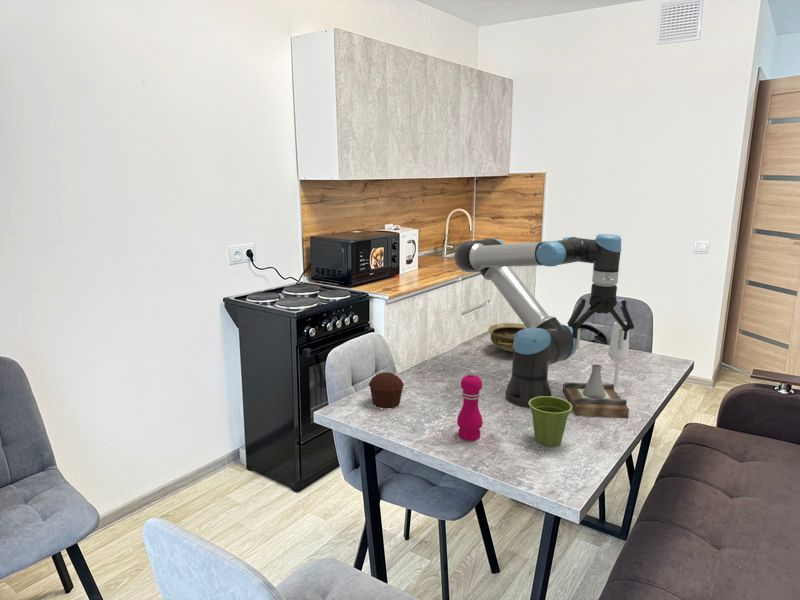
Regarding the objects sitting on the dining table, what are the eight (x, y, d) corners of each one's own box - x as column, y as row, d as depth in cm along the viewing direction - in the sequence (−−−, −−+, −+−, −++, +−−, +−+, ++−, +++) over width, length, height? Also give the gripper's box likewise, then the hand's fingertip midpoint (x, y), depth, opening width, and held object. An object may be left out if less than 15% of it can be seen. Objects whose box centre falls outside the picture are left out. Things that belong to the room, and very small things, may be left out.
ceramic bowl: (528, 368, 217) (530, 343, 215) (474, 356, 231) (475, 333, 229) (556, 349, 241) (557, 327, 239) (505, 339, 255) (506, 318, 253)
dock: (575, 415, 175) (576, 402, 174) (562, 391, 194) (563, 379, 193) (628, 418, 174) (629, 404, 173) (609, 393, 193) (610, 381, 192)
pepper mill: (451, 435, 161) (453, 369, 156) (467, 428, 166) (469, 364, 161) (471, 444, 156) (474, 376, 151) (486, 436, 161) (490, 370, 156)
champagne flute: (606, 384, 201) (612, 320, 196) (626, 388, 198) (633, 322, 193) (603, 390, 196) (609, 324, 190) (623, 394, 193) (630, 327, 187)
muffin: (411, 404, 182) (411, 375, 180) (385, 413, 175) (385, 383, 173) (386, 393, 191) (386, 365, 189) (361, 402, 184) (361, 373, 181)
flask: (580, 396, 182) (583, 367, 180) (584, 388, 188) (586, 360, 186) (604, 400, 179) (607, 370, 177) (607, 392, 185) (609, 364, 183)
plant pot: (544, 428, 166) (547, 392, 164) (578, 443, 157) (581, 406, 155) (517, 438, 159) (519, 401, 157) (550, 455, 150) (553, 416, 148)
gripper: (566, 285, 172) (561, 350, 177) (649, 287, 171) (641, 353, 176) (561, 280, 180) (556, 343, 185) (641, 282, 178) (633, 346, 183)
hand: (598, 348), depth 180 cm, fingers open, 13 cm apart
